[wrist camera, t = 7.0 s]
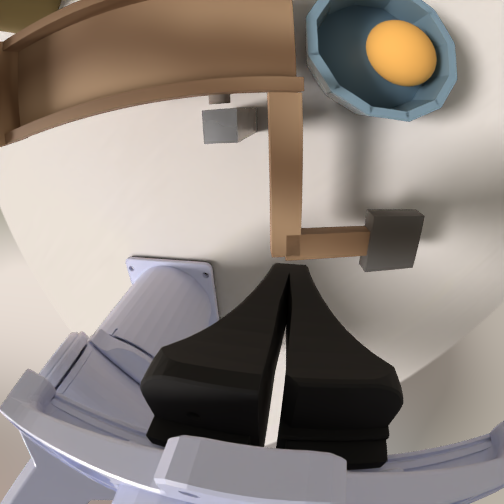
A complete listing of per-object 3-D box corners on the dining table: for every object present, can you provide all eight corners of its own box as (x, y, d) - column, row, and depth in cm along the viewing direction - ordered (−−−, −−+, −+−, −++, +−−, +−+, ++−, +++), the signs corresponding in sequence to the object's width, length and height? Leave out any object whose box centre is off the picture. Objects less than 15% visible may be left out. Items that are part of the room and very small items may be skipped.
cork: (63, -28, 10) (-23, -41, 1) (62, 15, 13) (-38, 12, 4) (25, 4, 12) (-55, 5, 2) (24, 46, 14) (-64, 58, 5)
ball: (396, 78, 10) (354, 81, 13) (451, 94, 10) (407, 91, 14) (390, 4, 8) (350, 20, 11) (447, 28, 8) (404, 35, 12)
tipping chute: (401, 255, 17) (426, 283, 14) (63, 273, 17) (41, 302, 14) (414, 10, 9) (447, -1, 6) (25, 43, 9) (-9, 40, 6)
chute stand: (257, 132, 17) (238, 142, 12) (232, 132, 17) (204, 144, 12) (250, -17, 12) (230, -54, 7) (226, -14, 12) (197, -48, 7)
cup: (427, 124, 14) (456, 131, 11) (308, 110, 16) (309, 111, 12) (423, 15, 10) (448, -1, 7) (302, -2, 12) (301, -28, 8)
